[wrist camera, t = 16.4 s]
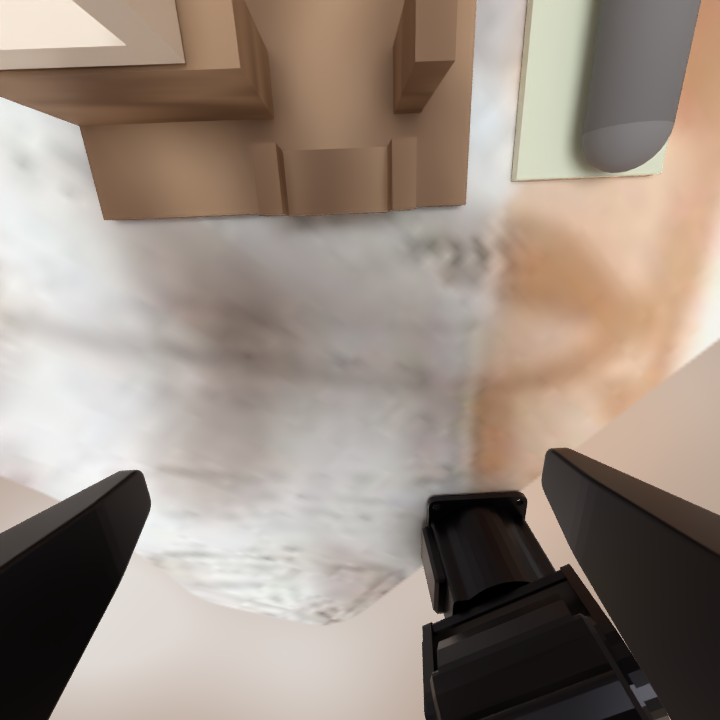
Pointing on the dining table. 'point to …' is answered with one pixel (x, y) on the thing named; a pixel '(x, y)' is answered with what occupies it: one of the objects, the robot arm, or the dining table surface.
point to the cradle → (277, 111)
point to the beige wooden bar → (88, 33)
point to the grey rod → (636, 80)
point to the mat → (559, 93)
